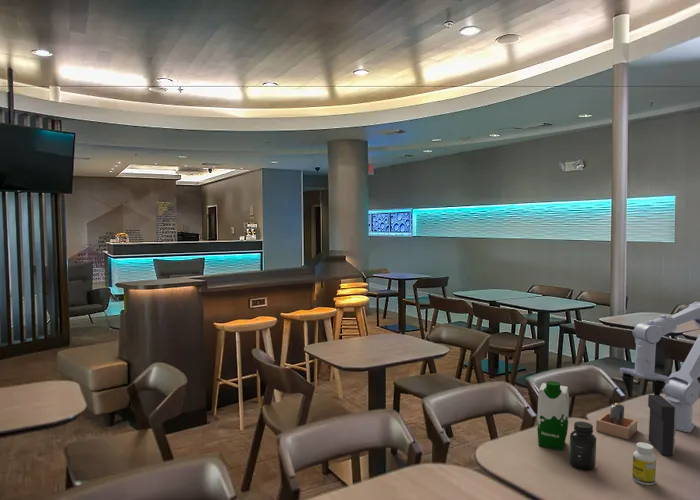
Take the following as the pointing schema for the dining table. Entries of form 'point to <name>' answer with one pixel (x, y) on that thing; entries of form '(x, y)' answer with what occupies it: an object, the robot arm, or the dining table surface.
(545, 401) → the milk carton
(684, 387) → the robot arm
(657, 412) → the black box
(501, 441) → the dining table surface
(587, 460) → the supplement bottle
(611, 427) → the tray
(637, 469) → the supplement bottle
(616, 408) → the pepper mill
